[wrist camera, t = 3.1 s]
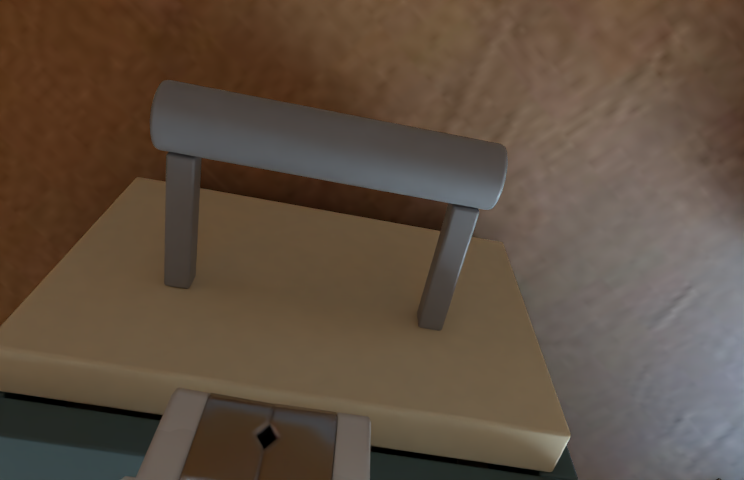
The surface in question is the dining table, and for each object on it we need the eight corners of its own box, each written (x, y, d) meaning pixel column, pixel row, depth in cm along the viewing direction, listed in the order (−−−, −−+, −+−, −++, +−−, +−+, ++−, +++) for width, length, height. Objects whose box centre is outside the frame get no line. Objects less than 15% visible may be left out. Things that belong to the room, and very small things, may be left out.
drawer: (134, 14, 15) (-65, 101, 9) (553, 99, 16) (676, 238, 9) (139, 484, 25) (46, 703, 18) (404, 520, 26) (412, 742, 19)
